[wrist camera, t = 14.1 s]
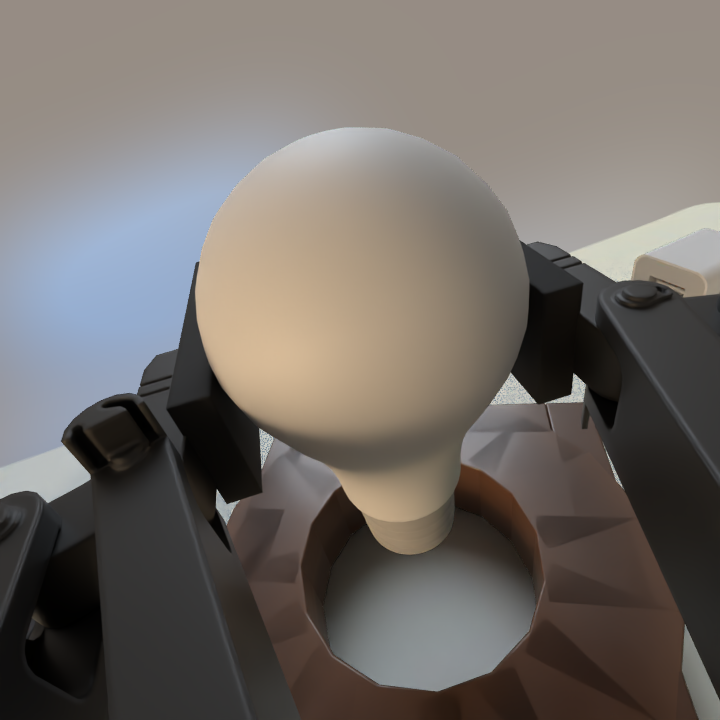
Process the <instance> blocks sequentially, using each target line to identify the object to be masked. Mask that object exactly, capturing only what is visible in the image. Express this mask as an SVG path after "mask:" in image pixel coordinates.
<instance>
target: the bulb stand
mask: <svg viewBox="0 0 720 720" xmlns="http://www.w3.org/2000/svg"><path fill="white" fill-rule="evenodd" d="M582 409H583V402H578V403H548V404H546V405H545V403H542V404H539V405H538V404H537V403H534V404H502V405H489V406H488V407H487V409H486V410H485V411H484V412H483V413H482V415H481V416H480V417H479V418H478V420H477V421H476V422H475V423H474V424H473V426H472V427H471V428H470V429H469V430H468V431H467V432H466V435H465V437H464V439H463V442H462V447H461V471H460V476H459V481H458V483H457V486H456V488H455V490H454V505H455V507H458V508H460V509H463V510H466V511H468V512H471V513H474V514H476V515H479V516H482V517H483V518H484V519H486V520H487V521H488V522H489V523H490V524H491V525H493V526H494V527H495V528H496V529H497V530H499V531H500V532H501V533H502V534H503V535H505V536H506V537H507V538H508V539H509V540H510V541H511V542H512V544H513V546H514V547H515V549H516V551H517V553H518V554H519V556H520V558H521V560H522V561H523V563H524V565H525V567H526V568H527V570H528V572H529V574H530V575H531V577H532V580H533V587H534V594H535V601H536V609H535V612H534V616H533V619H532V623H531V626H530V630H529V632H528V633H527V634H526V635H525V636H524V637H523V638H522V639H521V641H520V642H519V643H518V644H517V645H516V646H515V647H514V648H513V649H512V650H511V651H510V652H509V654H508V655H507V656H506V657H505V658H504V659H503V660H502V661H501V662H500V663H499V664H498V665H497V667H496V668H495V669H494V670H493V671H492V672H490V673H488V674H485V675H482V676H479V677H477V678H474V679H471V680H468V681H466V682H463V683H460V684H457V685H455V686H452V687H449V688H447V689H444V690H441V691H438V692H436V691H427V690H419V689H411V688H403V687H395V686H386V685H379V684H378V683H376V682H375V681H373V680H372V679H370V678H368V677H367V676H365V675H364V674H362V673H361V672H359V671H358V670H356V669H355V668H353V667H352V666H350V665H349V664H347V663H346V662H344V661H343V660H341V659H339V658H338V657H336V656H335V655H334V654H333V652H332V650H331V649H330V644H329V638H328V632H327V626H326V620H325V614H324V608H323V605H324V600H325V595H326V590H327V586H328V581H329V576H330V571H331V567H332V565H333V563H334V562H335V560H336V559H337V557H338V555H339V554H340V552H341V551H342V549H343V547H344V546H345V544H346V543H347V541H348V539H349V538H350V536H351V535H352V534H353V533H355V532H356V531H357V530H358V529H360V528H361V527H362V526H364V525H365V524H366V520H365V518H364V516H363V514H362V511H360V510H359V509H358V508H357V507H356V506H355V505H354V504H353V503H352V502H351V501H350V500H349V498H348V496H347V495H346V493H345V491H344V489H343V487H342V485H341V483H340V481H339V479H338V478H337V476H336V475H335V474H334V472H333V471H332V470H331V469H330V468H329V467H328V466H326V465H325V464H324V463H322V462H319V461H317V460H315V459H312V458H310V457H308V456H305V455H303V454H302V453H300V452H298V451H297V450H295V449H293V448H291V447H290V446H288V445H286V444H285V443H283V442H281V441H279V440H278V439H276V438H274V441H273V443H272V446H271V448H270V451H269V453H268V456H267V458H266V461H265V463H264V466H263V468H262V471H261V473H262V491H263V493H260V494H257V495H254V496H251V497H247V498H244V499H241V500H240V501H239V502H238V504H237V505H236V507H235V508H234V510H233V512H232V514H231V517H230V519H229V521H228V524H227V529H228V531H229V534H230V536H231V539H232V542H233V544H234V547H235V549H236V552H237V555H238V557H239V560H240V562H241V565H242V568H243V570H244V573H245V575H246V578H247V580H248V583H249V586H250V588H251V591H252V593H253V596H254V599H255V601H256V604H257V606H258V609H259V612H260V614H261V617H262V619H263V622H264V624H265V627H266V630H267V632H268V635H269V637H270V640H271V643H272V645H273V648H274V650H275V653H276V656H277V658H278V661H279V663H280V666H281V668H282V671H283V674H284V676H285V679H286V681H287V684H288V687H289V689H290V692H291V694H292V697H293V700H294V702H295V705H296V707H297V710H298V712H299V715H300V718H301V720H699V719H698V716H697V713H696V710H695V708H694V705H693V702H692V699H691V696H690V693H689V690H688V687H687V684H686V682H685V679H684V676H683V673H682V662H683V646H684V631H685V622H684V620H683V618H682V616H681V614H680V611H679V609H678V607H677V605H676V603H675V600H674V598H673V596H672V594H671V592H670V589H669V587H668V585H667V583H666V581H665V578H664V576H663V574H662V572H661V570H660V567H659V565H658V563H657V561H656V559H655V556H654V554H653V552H652V550H651V547H650V545H649V543H648V541H647V539H646V536H645V534H644V532H643V530H642V528H641V525H640V523H639V521H638V519H637V517H636V514H635V512H634V510H633V508H632V506H631V503H630V501H629V499H628V497H627V495H626V492H625V491H624V489H623V488H622V487H621V486H620V485H619V484H618V483H617V482H616V480H615V477H614V474H613V471H612V468H611V465H610V462H609V459H608V456H607V454H606V451H605V448H604V445H603V442H602V439H601V437H600V435H599V433H598V431H597V428H595V424H594V422H593V420H592V417H591V416H590V418H589V422H588V428H587V429H582V427H581V416H582Z"/></svg>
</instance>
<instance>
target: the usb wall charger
mask: <svg viewBox="0 0 720 720" xmlns="http://www.w3.org/2000/svg"><path fill="white" fill-rule="evenodd" d="M631 280H643V281H650V282H656V283H659V284H662V285H665V286H668V287H670V288H671V289H673V290H674V291H676V292H677V293H678V294H679V295H680V296H681V297H682V298H683V297H693V296H703V295H713V294H719V293H720V231H716V230H712V229H708V228H704V229H701V230H698V231H696V232H694V233H691V234H689V235H687V236H684V237H682V238H680V239H677V240H675V241H673V242H671V243H668V244H666V245H664V246H661V247H659V248H657V249H654V250H652V251H650V252H647V253H645V254H643V255H641V256H639V257H637V259H636V260H635V262H634V267H633V272H632V278H631Z"/></svg>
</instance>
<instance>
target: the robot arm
mask: <svg viewBox="0 0 720 720" xmlns="http://www.w3.org/2000/svg"><path fill="white" fill-rule="evenodd" d="M519 241H520V240H519ZM520 243H521V246H522V249H523V252H524V257H525V262H526V267H527V271H528V276H529V309H528V320H527V328H526V331H525V334H524V338H523V341H522V344H521V347H520V350H519V353H518V357H517V359H516V361H515V363H514V366H513V368H512V370H511V373H512V374H513V376H514V377H515V378H516V379H517V380H518V381H519V383H520V384H521V385H522V386H523V387H524V388H525V390H526V391H527V392H528V393H529V394H530V395H531V397H532V398H533V399H534V400H535V401H536V402H537V404H538V405H539V404H542V403H546V402H549V401H552V400H555V399H558V398H561V397H564V396H568V395H571V391H572V382H573V373H575V374H576V375H577V376H578V377H579V378H580V379H581V380H582V381H583V382H584V383H585V384H586V387H585V394H584V402H583V409H582V416H581V427H582V429H587V428H588V422H589V418H590V416H591V417H592V420H593V422H594V424H595V428H597V431H598V433H599V435H600V437H601V439H602V442H603V444H604V446H605V448H606V450H607V453H608V455H609V457H610V459H611V461H612V464H613V466H614V468H615V470H616V472H617V475H618V477H619V479H620V481H621V484H622V486H623V488H624V490H625V492H626V495H627V497H628V499H629V501H630V503H631V506H632V508H633V510H634V512H635V514H636V517H637V519H638V521H639V523H640V525H641V528H642V530H643V532H644V534H645V536H646V539H647V541H648V543H649V545H650V547H651V550H652V552H653V554H654V556H655V559H656V561H657V563H658V565H659V567H660V570H661V572H662V574H663V576H664V578H665V581H666V583H667V585H668V587H669V589H670V592H671V594H672V596H673V598H674V600H675V603H676V605H677V607H678V609H679V611H680V614H681V616H682V618H683V620H684V622H685V625H686V627H687V629H688V631H689V633H690V636H691V638H692V640H693V642H694V645H695V647H696V649H697V651H698V653H699V656H700V658H701V660H702V662H703V664H704V667H705V669H706V671H707V673H708V675H709V678H710V680H711V682H712V684H713V686H714V689H715V691H716V693H717V695H718V697H719V700H720V293H719V294H713V295H703V296H693V297H683V298H682V297H681V296H680V295H679V294H678V293H677V292H676V291H674V290H673V289H671V288H670V287H668V286H665V285H662V284H659V283H656V282H650V281H643V280H629V281H621V282H617V283H616V282H615V281H613V280H611V279H610V278H608V277H607V276H605V275H603V274H602V273H600V272H598V271H597V270H595V269H593V268H592V267H590V266H588V265H587V264H585V263H583V264H582V261H580V260H578V259H577V258H575V257H573V256H572V257H571V256H570V254H569V253H567V252H565V251H563V250H562V249H560V248H558V247H557V246H553V245H549V244H545V243H541V242H534V243H531V244H527V245H526V244H525V243H523V242H521V241H520ZM198 268H199V262H197V263H196V265H195V270H194V275H193V280H192V285H191V289H190V294H189V299H188V304H187V309H186V314H185V319H184V323H183V329H182V333H181V338H180V343H179V348H178V349H176V350H173V351H170V352H166V353H163V354H159V355H156V357H155V358H154V359H153V360H152V362H151V363H150V364H149V365H148V366H147V367H146V369H145V370H144V373H143V376H142V380H141V383H140V386H141V387H139V389H138V393H137V395H136V394H132V393H126V394H118V395H114V396H112V397H109V398H106V399H103V400H101V401H99V402H97V403H95V404H94V405H92V406H90V407H88V408H87V409H85V410H84V411H83V412H82V413H80V415H78V416H77V417H76V418H74V419H73V421H72V422H71V423H70V424H69V426H68V427H67V428H66V429H65V431H64V434H63V437H62V440H61V442H62V443H63V444H64V445H65V446H66V448H67V449H68V450H69V451H70V452H71V453H72V454H73V455H74V457H75V458H76V459H77V460H78V461H79V462H80V463H81V464H82V466H83V467H84V468H85V469H86V470H87V471H88V472H89V473H90V475H91V480H89V481H88V482H86V483H84V484H83V485H81V486H79V487H77V488H76V489H74V490H72V491H70V492H68V493H66V494H64V495H63V496H61V497H59V498H57V499H55V500H53V501H51V502H50V503H47V502H46V501H45V500H44V499H43V498H42V497H41V496H40V495H39V494H37V493H36V492H30V491H23V492H18V493H14V494H10V495H8V496H6V497H4V498H2V499H0V720H107V719H108V712H109V720H301V718H300V715H299V712H298V710H297V707H296V705H295V702H294V700H293V697H292V694H291V692H290V689H289V687H288V684H287V681H286V679H285V676H284V674H283V671H282V668H281V666H280V663H279V661H278V658H277V656H276V653H275V650H274V648H273V645H272V643H271V640H270V637H269V635H268V632H267V630H266V627H265V624H264V622H263V619H262V617H261V614H260V612H259V609H258V606H257V604H256V601H255V599H254V596H253V593H252V591H251V588H250V586H249V583H248V580H247V578H246V575H245V573H244V570H243V568H242V565H241V562H240V560H239V557H238V555H237V552H236V549H235V547H234V544H233V542H232V539H231V536H230V534H229V531H228V529H227V526H226V524H225V521H224V519H223V518H222V516H221V515H220V513H219V512H218V510H217V509H216V491H217V489H218V491H219V493H220V494H221V496H222V497H223V499H224V500H225V502H226V504H229V503H232V502H235V501H238V500H241V499H244V498H247V497H251V496H254V495H257V494H260V493H263V491H262V473H261V455H260V436H259V427H257V426H256V425H255V424H254V423H253V422H252V421H251V420H250V419H249V418H248V417H247V416H246V415H245V413H244V412H243V411H242V410H241V409H240V408H239V407H238V406H237V405H236V404H235V403H234V401H233V400H232V399H231V398H230V397H229V396H228V395H227V393H226V392H225V391H224V390H223V389H222V387H221V385H220V384H219V382H218V380H217V378H216V376H215V374H214V372H213V370H212V368H211V366H210V364H209V362H208V359H207V356H206V353H205V350H204V347H203V343H202V339H201V335H200V331H199V327H198V323H197V314H196V298H195V287H196V279H197V273H198ZM31 619H34V620H35V624H34V627H33V631H32V633H31V635H30V637H29V639H26V636H27V633H28V629H29V626H30V623H31Z"/></svg>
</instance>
